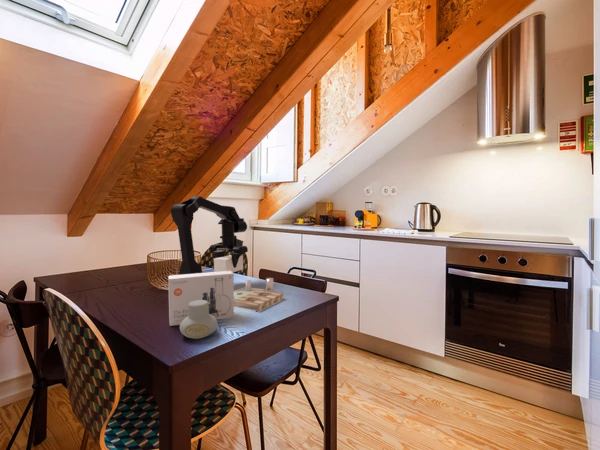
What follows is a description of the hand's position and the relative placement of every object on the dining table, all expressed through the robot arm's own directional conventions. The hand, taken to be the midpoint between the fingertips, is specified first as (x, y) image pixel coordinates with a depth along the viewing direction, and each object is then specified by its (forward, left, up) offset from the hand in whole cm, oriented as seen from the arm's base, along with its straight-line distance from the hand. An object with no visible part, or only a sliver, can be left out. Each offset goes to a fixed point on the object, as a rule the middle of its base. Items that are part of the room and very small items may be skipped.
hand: (228, 266), depth 151 cm
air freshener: (-46, -29, -10) cm, 55 cm away
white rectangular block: (0, 0, -2) cm, 2 cm away
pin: (0, -23, -10) cm, 25 cm away
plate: (-4, -12, -10) cm, 16 cm away
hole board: (-12, -26, -10) cm, 30 cm away
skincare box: (-36, -20, -10) cm, 42 cm away
